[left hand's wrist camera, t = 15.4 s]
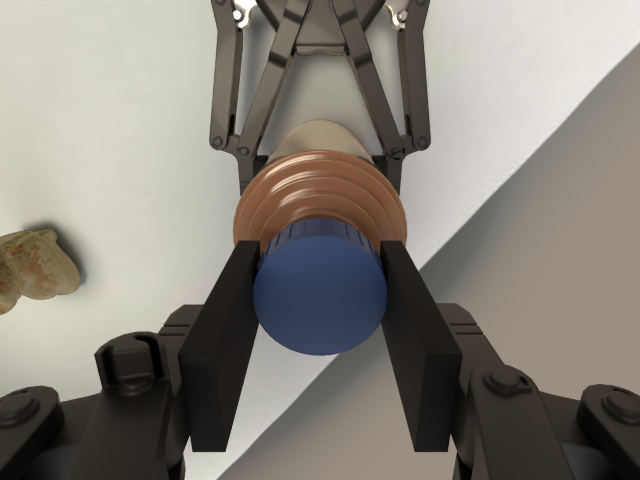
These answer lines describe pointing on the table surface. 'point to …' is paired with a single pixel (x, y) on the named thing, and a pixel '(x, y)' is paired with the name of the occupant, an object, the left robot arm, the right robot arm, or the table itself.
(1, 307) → the sculpture
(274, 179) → the bottle
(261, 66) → the table surface
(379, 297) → the cap
